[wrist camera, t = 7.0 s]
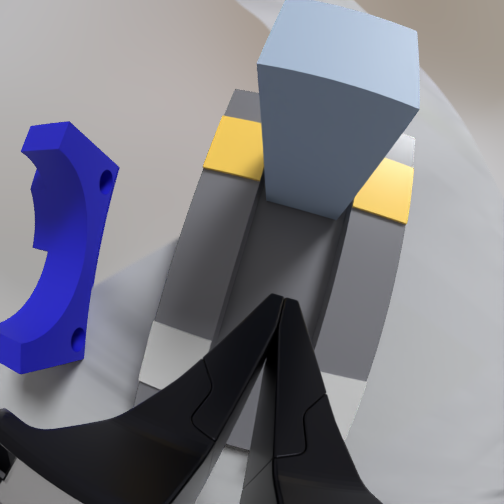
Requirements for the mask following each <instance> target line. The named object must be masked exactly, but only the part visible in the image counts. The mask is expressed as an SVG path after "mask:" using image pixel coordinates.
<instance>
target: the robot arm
mask: <svg viewBox="0 0 504 504" xmlns="http://www.w3.org/2000/svg"><path fill="white" fill-rule="evenodd" d="M265 360H266V361H265ZM264 362H265V365H264ZM263 365H264V370H263V376H262V382H261V388H260V394H259V400H258V406H257V412H256V418H255V423H254V429H253V435H252V440H251V446H250V451H249V457H248V462H247V468H246V473H245V478H244V483H243V490H242V494H241V499H240V504H383V503H382V502H380V501H379V500H378V499H377V498H376V497H375V496H374V495H373V494H372V493H371V492H370V491H369V490H368V489H367V488H366V486H365V485H364V484H363V482H362V480H361V478H360V477H359V474H358V472H357V470H356V468H355V465H354V463H353V461H352V458H351V456H350V454H349V452H348V449H347V447H346V445H345V442H344V440H343V438H342V435H341V433H340V430H339V428H338V425H337V423H336V420H335V417H334V414H333V411H332V408H331V405H330V402H329V398H328V395H327V394H326V388H325V385H324V382H323V378H322V375H321V372H320V368H319V365H318V362H317V358H316V355H315V352H314V348H313V345H312V342H311V339H310V336H309V332H308V329H307V326H306V323H305V320H304V316H303V313H302V310H301V307H300V304H299V301H298V300H295V299H291V298H288V297H286V298H285V299H284V297H283V296H281V295H277V294H274V293H271V294H270V295H269V296H268V297H266V298H265V299H264V300H263V301H262V302H261V303H260V304H259V305H258V306H257V307H256V308H255V309H254V310H253V311H252V312H251V313H250V314H249V315H248V316H247V317H246V318H244V319H243V320H242V321H241V322H240V323H239V324H238V325H237V326H236V327H235V328H234V329H233V330H232V331H231V332H230V333H228V334H227V335H226V336H225V337H224V338H223V339H222V340H221V341H220V342H219V343H218V344H217V345H216V346H214V347H213V348H212V349H211V350H210V351H209V352H208V353H207V354H206V355H205V356H203V359H200V360H199V361H198V362H197V363H196V364H194V365H193V366H192V367H191V368H190V369H189V370H187V371H186V372H185V373H184V374H183V375H181V376H180V377H179V378H178V379H176V380H175V381H173V382H172V383H170V384H169V385H168V386H166V387H165V388H163V389H162V390H160V391H159V392H157V393H156V394H154V395H152V396H151V397H149V398H148V399H146V400H145V401H143V402H141V403H140V404H138V405H137V406H135V407H134V408H132V409H130V410H129V411H127V412H125V413H123V414H121V415H119V416H117V417H114V418H111V419H108V420H103V421H98V422H93V423H87V424H82V425H76V426H70V427H63V428H56V429H37V428H34V427H31V426H29V425H27V424H25V423H24V422H23V421H21V420H20V419H19V418H18V417H16V416H15V415H14V414H13V413H11V412H10V411H9V410H7V409H5V408H2V409H0V504H194V503H195V501H196V499H197V497H198V495H199V494H200V492H201V490H202V488H203V486H204V484H205V482H206V481H207V479H208V477H209V475H210V473H211V471H212V469H213V467H214V466H215V464H216V462H217V460H218V458H219V456H220V454H221V452H222V450H223V448H224V446H225V444H226V442H227V440H228V438H229V436H230V434H231V432H232V430H233V428H234V426H235V424H236V422H237V420H238V418H239V416H240V414H241V412H242V410H243V408H244V406H245V404H246V402H247V400H248V398H249V396H250V393H251V391H252V389H253V387H254V385H255V383H256V381H257V379H258V376H259V374H260V372H261V370H262V367H263Z"/></svg>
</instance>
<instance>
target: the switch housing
mask: <svg viewBox="0 0 504 504" xmlns="http://www.w3.org/2000/svg"><path fill="white" fill-rule="evenodd" d="M414 147H415V138H413V137H411V136H408V135H406V134H403V133H402V134H401V136H400V137H399V139H398V140H397V141H396V143H395V144H394V145H393V147H392V148H391V150H390V151H389V152H388V154H387V155H386V156H385V158H384V159H383V160H382V162H381V163H380V164H379V166H378V167H377V168H376V170H375V171H374V172H373V174H372V175H371V176H370V178H369V179H368V180H367V182H366V183H365V184H364V186H363V187H362V188H361V190H360V191H359V192H358V193H357V195H356V196H355V197H354V199H353V200H352V201H351V203H350V204H349V205H348V206H347V208H346V209H345V210H344V212H343V213H342V214H341V215H340V217H339V218H338V219H337V220H334V219H331V218H327V217H324V216H320V215H317V214H313V213H310V212H306V211H303V210H299V209H296V208H292V207H288V206H285V205H281V204H277V203H274V202H270V201H266V189H265V172H264V157H263V142H262V127H261V113H260V99H259V93H255V92H250V91H244V90H238V89H235V91H234V93H233V95H232V98H231V100H230V102H229V105H228V107H227V110H226V112H225V115H224V116H222V119H221V121H220V123H219V126H218V128H217V131H216V133H215V136H214V139H213V141H212V143H211V146H210V149H209V151H208V154H207V157H206V159H205V162H204V164H203V171H202V174H201V177H200V180H199V182H198V185H197V188H196V191H195V193H194V196H193V199H192V202H191V205H190V208H189V211H188V213H187V216H186V220H185V222H184V225H183V228H182V232H181V234H180V237H179V241H178V244H177V247H176V250H175V253H174V256H173V260H172V263H171V266H170V269H169V273H168V276H167V279H166V283H165V286H164V289H163V293H162V296H161V300H160V303H159V307H158V310H157V314H156V318H155V321H153V323H152V327H151V331H150V334H149V338H148V342H147V346H146V350H145V354H144V358H143V362H142V366H141V370H140V375H139V379H138V380H139V385H138V390H137V394H136V398H135V403H134V407H135V406H137V405H138V404H140V403H141V402H143V401H145V400H146V399H148V398H149V397H151V396H152V395H154V394H156V393H157V392H159V391H160V390H162V389H163V388H165V387H166V386H168V385H169V384H170V383H172V382H173V381H175V380H176V379H178V378H179V377H180V376H181V375H183V374H184V373H185V372H186V371H187V370H189V369H190V368H191V367H192V366H193V365H194V364H196V363H197V362H198V361H199V360H200V359H203V356H205V355H206V354H207V353H208V352H209V351H210V350H211V349H212V348H213V347H214V346H216V345H217V344H218V343H219V342H220V341H221V340H222V339H223V338H224V337H225V336H226V335H227V334H228V333H230V332H231V331H232V330H233V329H234V328H235V327H236V326H237V325H238V324H239V323H240V322H241V321H242V320H243V319H244V318H246V317H247V316H248V315H249V314H250V313H251V312H252V311H253V310H254V309H255V308H256V307H257V306H258V305H259V304H260V303H261V302H262V301H263V300H264V299H265V298H266V297H268V296H269V295H270V294H271V293H274V294H277V295H281V296H283V297H284V299H285V298H286V297H288V298H291V299H295V300H298V301H299V304H300V307H301V310H302V313H303V316H304V320H305V323H306V326H307V329H308V332H309V336H310V339H311V342H312V345H313V348H314V352H315V355H316V358H317V362H318V365H319V368H320V372H321V375H322V378H323V382H324V385H325V388H326V394H327V395H328V398H329V402H330V405H331V408H332V411H333V414H334V417H335V420H336V423H337V425H338V428H339V430H340V433H341V435H342V438H343V440H346V437H347V435H348V433H349V430H350V428H351V425H352V423H353V420H354V418H355V415H356V413H357V410H358V408H359V405H360V402H361V400H362V397H363V394H364V391H365V388H366V386H367V382H366V381H367V378H368V375H369V372H370V369H371V366H372V363H373V360H374V357H375V353H376V350H377V347H378V344H379V340H380V337H381V333H382V330H383V326H384V322H385V319H386V315H387V311H388V307H389V303H390V299H391V295H392V291H393V286H394V282H395V277H396V273H397V268H398V263H399V258H400V253H401V248H402V242H403V237H404V231H405V225H406V224H407V221H408V215H409V208H410V200H411V192H412V184H413V174H414V168H413V160H414ZM265 361H266V360H265ZM264 365H265V362H264ZM264 365H263V367H262V370H261V372H260V374H259V376H258V379H257V381H256V383H255V385H254V387H253V389H252V391H251V393H250V396H249V398H248V400H247V402H246V404H245V406H244V408H243V410H242V412H241V414H240V416H239V418H238V420H237V422H236V424H235V426H234V428H233V430H232V432H231V434H230V436H229V438H228V440H227V442H226V444H229V445H232V446H236V447H239V448H243V449H246V450H250V446H251V440H252V435H253V429H254V423H255V418H256V412H257V406H258V400H259V394H260V388H261V382H262V376H263V370H264Z"/></svg>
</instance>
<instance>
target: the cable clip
mask: <svg viewBox="0 0 504 504" xmlns="http://www.w3.org/2000/svg"><path fill="white" fill-rule="evenodd" d="M21 152H22V153H23V154H25V155H26V156H27V157H28V158H29V159H30V160H31V161H32V162H33V164H34V165H35V166H36V168H37V170H36V173H35V176H34V179H33V182H32V186H31V193H32V197H33V202H34V211H35V234H34V242H33V248H36V249H40V250H43V251H47V252H48V254H47V258H46V262H45V265H44V269H43V271H42V274H41V277H40V279H39V281H38V284H37V286H36V288H35V289H34V291H33V293H32V295H31V296H30V298H29V299H28V301H27V302H26V303H25V304H24V306H23V307H22V308H21V309H20V310H19V311H18V312H17V313H16V314H14V315H13V316H12V317H10V318H9V319H7V320H5V321H3V322H1V323H0V363H1V364H3V365H5V366H7V367H8V368H10V369H12V370H13V371H15V372H17V373H19V374H24V373H29V372H33V371H37V370H41V369H46V368H50V367H54V366H58V365H62V364H66V363H70V362H74V361H78V360H81V359H84V351H85V339H86V328H87V319H88V311H89V303H90V295H91V288H92V287H94V280H95V274H96V268H97V263H98V257H99V252H100V247H101V242H102V237H103V232H104V227H105V223H106V219H107V214H108V210H109V206H110V201H111V198H112V194H113V190H114V186H115V183H116V179H117V175H118V171H119V169H120V167H118V166H117V165H116V164H115V163H114V162H113V161H112V160H111V159H110V158H109V157H108V156H106V155H105V154H104V153H103V152H102V151H101V150H100V149H99V148H97V146H95V145H94V144H93V143H92V142H91V141H90V140H89V139H88V138H87V137H86V136H85V135H84V134H82V133H81V132H80V131H79V130H78V129H77V128H76V127H75V126H74V125H73V124H72V123H71V122H59V123H50V124H42V125H35V126H31V127H30V129H29V132H28V134H27V137H26V139H25V142H24V145H23V147H22V150H21Z"/></svg>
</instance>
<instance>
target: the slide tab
mask: <svg viewBox="0 0 504 504" xmlns="http://www.w3.org/2000/svg"><path fill="white" fill-rule="evenodd" d="M417 39H418V38H417V31H415V30H412V29H410V28H407V27H404V26H402V25H399V24H396V23H394V22H391V21H388V20H385V19H382V18H379V17H376V16H373V15H369V14H366V13H363V12H359V11H356V10H352V9H348V8H344V7H340V6H336V5H332V4H328V3H323V2H319V1H314V0H285V2H284V4H283V6H282V8H281V10H280V13H279V15H278V17H277V19H276V21H275V23H274V26H273V28H272V30H271V32H270V34H269V37H268V39H267V41H266V44H265V46H264V48H263V50H262V53H261V55H260V57H259V60H258V62H257V71H258V85H259V99H260V113H261V127H262V142H263V157H264V172H265V189H266V201H270V202H274V203H277V204H281V205H285V206H288V207H292V208H296V209H299V210H303V211H306V212H310V213H313V214H317V215H320V216H324V217H327V218H331V219H334V220H337V219H338V218H339V217H340V215H341V214H342V213H343V212H344V210H345V209H346V208H347V206H348V205H349V204H350V203H351V201H352V200H353V199H354V197H355V196H356V195H357V193H358V192H359V191H360V190H361V188H362V187H363V186H364V184H365V183H366V182H367V180H368V179H369V178H370V176H371V175H372V174H373V172H374V171H375V170H376V168H377V167H378V166H379V164H380V163H381V162H382V160H383V159H384V158H385V156H386V155H387V154H388V152H389V151H390V150H391V148H392V147H393V145H394V144H395V143H396V141H397V140H398V139H399V137H400V136H401V134H402V133H403V132H404V130H405V129H406V128H407V126H408V125H409V123H410V122H411V121H412V119H413V118H414V116H415V115H416V113H417V112H418V111H419V109H420V78H419V53H418V40H417Z"/></svg>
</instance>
